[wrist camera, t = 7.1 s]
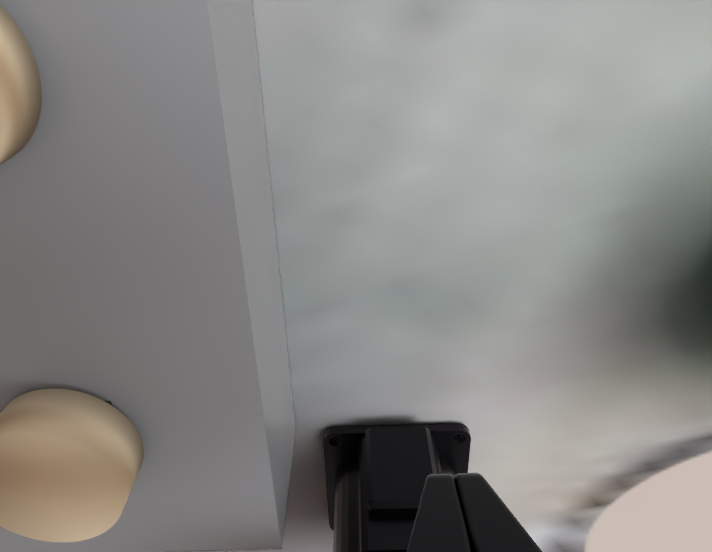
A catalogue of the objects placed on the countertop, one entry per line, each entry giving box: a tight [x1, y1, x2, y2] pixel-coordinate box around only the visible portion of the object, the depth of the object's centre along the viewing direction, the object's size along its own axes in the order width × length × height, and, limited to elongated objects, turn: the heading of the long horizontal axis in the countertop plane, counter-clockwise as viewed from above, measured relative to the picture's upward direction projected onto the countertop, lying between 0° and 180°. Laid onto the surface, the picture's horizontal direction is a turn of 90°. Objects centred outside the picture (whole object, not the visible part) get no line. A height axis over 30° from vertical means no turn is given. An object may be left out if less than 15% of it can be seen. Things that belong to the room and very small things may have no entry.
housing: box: [0, 0, 296, 552], centre depth 18 cm, size 22×12×6 cm, turn 2°
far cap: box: [0, 389, 144, 542], centre depth 19 cm, size 4×4×7 cm
